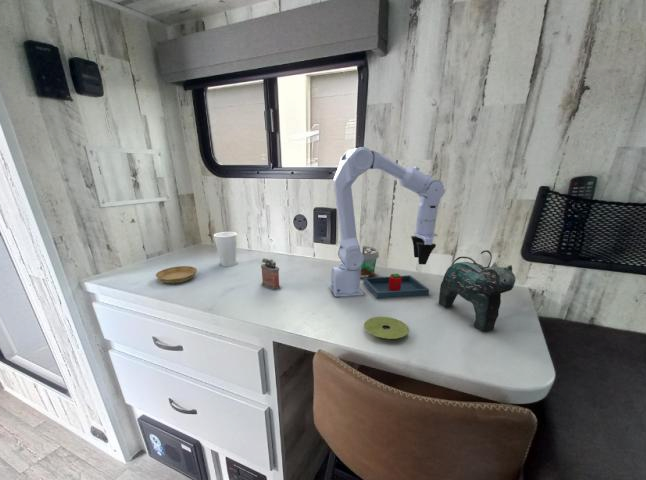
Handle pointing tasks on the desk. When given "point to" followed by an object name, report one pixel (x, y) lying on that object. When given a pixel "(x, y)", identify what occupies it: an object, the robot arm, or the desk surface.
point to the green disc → (386, 327)
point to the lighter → (270, 274)
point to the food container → (368, 262)
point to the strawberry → (395, 282)
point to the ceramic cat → (477, 289)
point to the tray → (408, 289)
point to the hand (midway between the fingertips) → (419, 260)
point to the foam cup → (226, 247)
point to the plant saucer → (176, 274)
